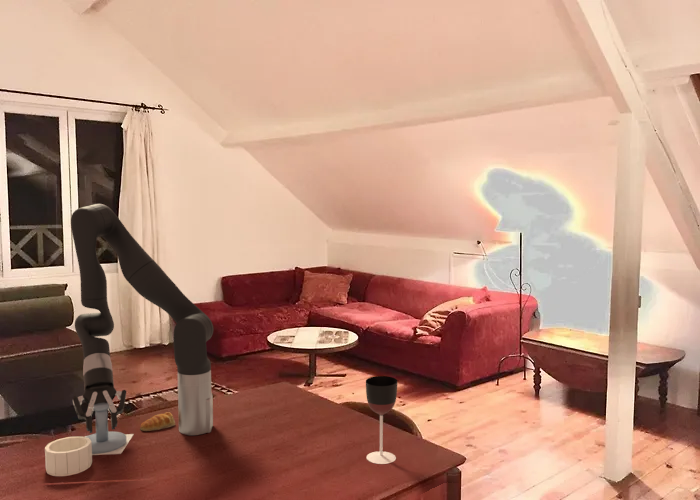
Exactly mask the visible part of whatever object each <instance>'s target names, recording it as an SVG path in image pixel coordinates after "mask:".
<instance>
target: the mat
mask: <svg viewBox="0 0 700 500" xmlns="http://www.w3.org/2000/svg"><path fill="white" fill-rule="evenodd" d="M124 434H125V433H124ZM134 434H135V433H129V434H128V433H127V434H125V435H126V444H125V445H124V446H122V447H121V448H119V449H117V450H114V451H111V452H106V453H100V454H92V456H99V455H102V456H103V455H121V454H122V453H123V451H124V450H125V448H126V447H127V445H128V444H129V443H130V441H131V439H132V438H133V437H134ZM86 436H87V435H85V436H84V437H86Z"/></svg>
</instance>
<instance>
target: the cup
mask: <svg viewBox="0 0 700 500" xmlns="http://www.w3.org/2000/svg"><path fill="white" fill-rule="evenodd" d="M44 454H45V455H44V457H45V458H44V459H45V470H46V471H45V472H46V473H47V475H50V476H53V477H67V476H72V475H77V474H80V473H83V472H84V471H86V470H88V469H89V468H90V467H91V466H92V463H93V455H92V442H91V440H90V439H89V438H87V437H85V436H82V435H81V436H80V435H78V436H67V437H63V438H59V439H58V438H57V439H56V440H53V441H51V442H48V443H47V444H46V446H45V447H44Z"/></svg>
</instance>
